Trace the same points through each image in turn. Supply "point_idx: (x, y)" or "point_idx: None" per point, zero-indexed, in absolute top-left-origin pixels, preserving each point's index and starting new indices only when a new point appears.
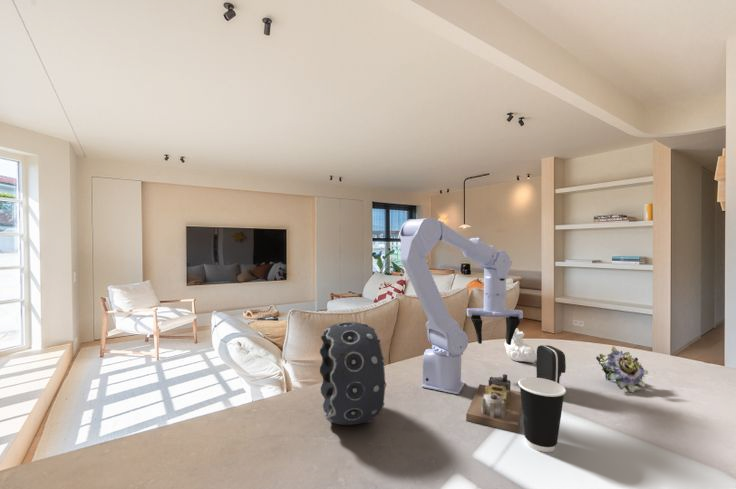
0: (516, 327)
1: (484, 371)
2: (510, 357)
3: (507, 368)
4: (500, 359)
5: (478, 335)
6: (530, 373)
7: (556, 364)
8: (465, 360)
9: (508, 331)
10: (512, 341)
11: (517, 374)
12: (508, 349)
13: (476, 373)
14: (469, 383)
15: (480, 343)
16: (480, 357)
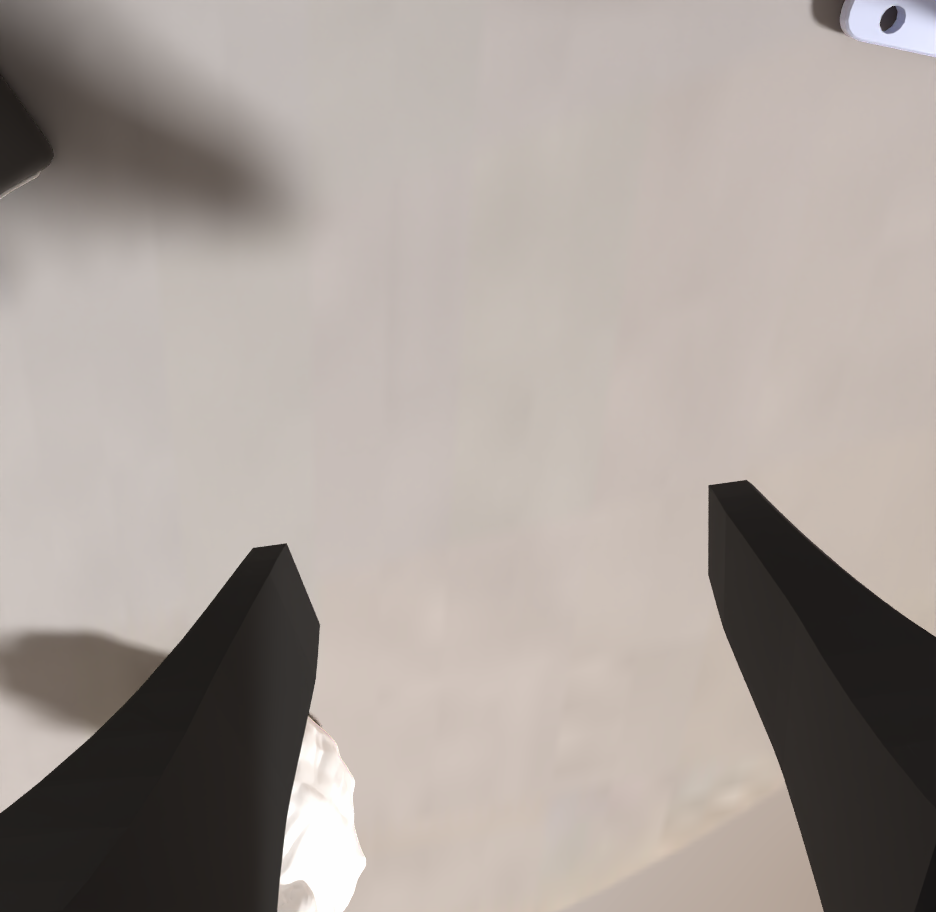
0: (22, 799)
1: (559, 439)
2: (323, 730)
3: (350, 555)
4: (402, 705)
5: (826, 557)
6: (155, 504)
7: None
8: (695, 624)
9: (241, 750)
10: (285, 863)
11: (263, 452)
12: (330, 788)
13: (644, 370)
14: (774, 57)
15: (728, 485)
16: (558, 705)
